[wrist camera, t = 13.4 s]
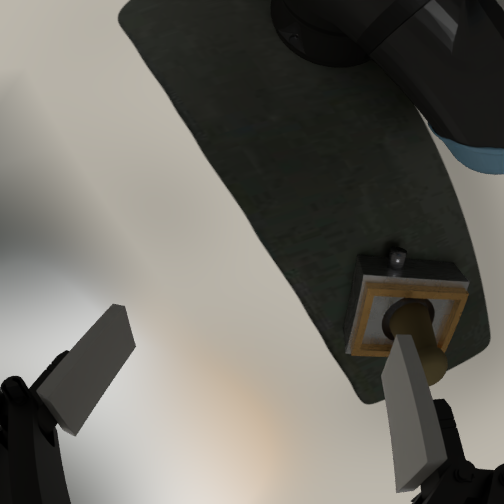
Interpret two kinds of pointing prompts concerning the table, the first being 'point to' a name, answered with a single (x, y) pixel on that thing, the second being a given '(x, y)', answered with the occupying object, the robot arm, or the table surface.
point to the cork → (420, 338)
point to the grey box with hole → (400, 299)
